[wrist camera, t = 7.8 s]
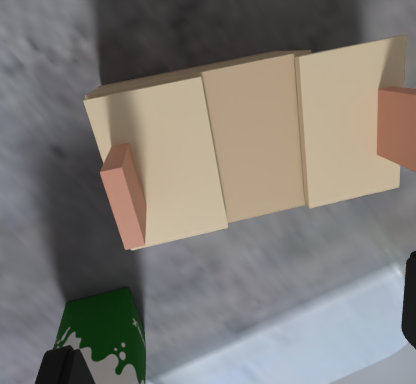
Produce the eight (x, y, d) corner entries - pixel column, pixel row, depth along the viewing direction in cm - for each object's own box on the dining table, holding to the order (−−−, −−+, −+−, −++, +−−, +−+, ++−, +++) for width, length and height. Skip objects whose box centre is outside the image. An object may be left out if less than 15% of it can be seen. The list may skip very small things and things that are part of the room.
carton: (274, 50, 31) (311, 49, 24) (285, 171, 36) (319, 201, 29) (100, 85, 30) (83, 95, 23) (136, 205, 35) (131, 246, 27)
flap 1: (199, 75, 23) (215, 82, 17) (226, 223, 28) (245, 267, 22) (85, 99, 22) (62, 114, 17) (131, 245, 27) (126, 296, 21)
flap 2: (399, 35, 24) (476, 29, 18) (392, 183, 29) (453, 216, 23) (294, 56, 23) (340, 57, 18) (305, 204, 28) (344, 243, 22)
